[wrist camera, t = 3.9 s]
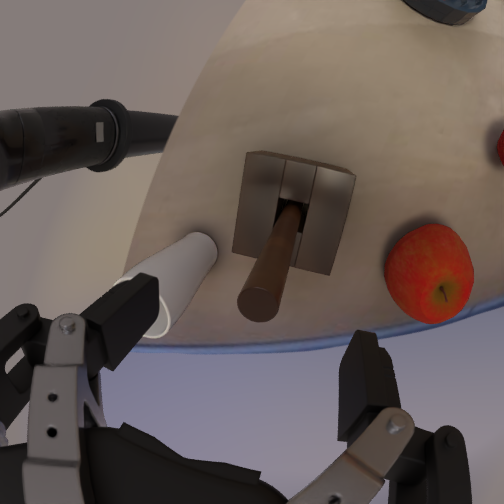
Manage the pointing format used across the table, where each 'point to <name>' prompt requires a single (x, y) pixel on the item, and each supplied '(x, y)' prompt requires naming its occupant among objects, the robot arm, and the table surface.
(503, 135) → the strawberry
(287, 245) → the stirring stick
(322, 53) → the table surface
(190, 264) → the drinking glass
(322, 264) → the holder
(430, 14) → the bowl
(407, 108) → the table surface
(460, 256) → the apple
